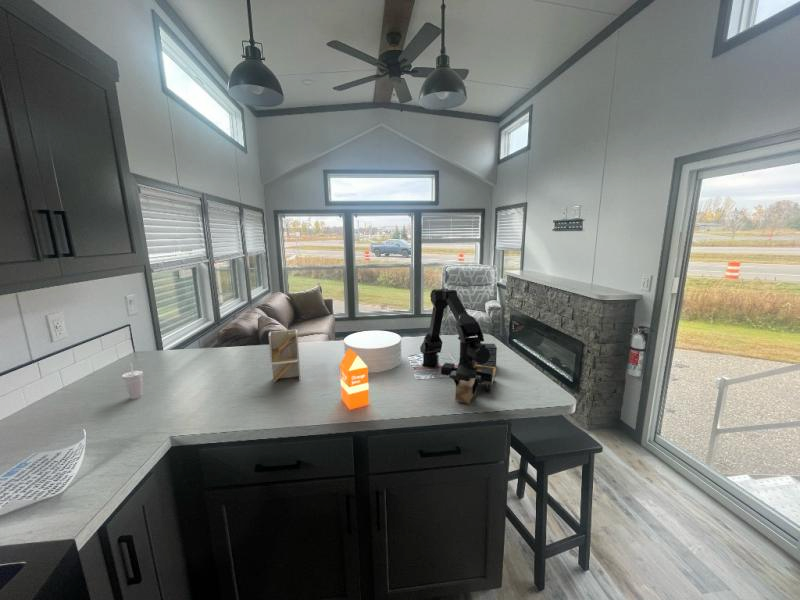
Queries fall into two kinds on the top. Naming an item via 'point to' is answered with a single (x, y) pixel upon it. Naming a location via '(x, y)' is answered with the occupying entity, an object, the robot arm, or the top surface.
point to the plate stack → (375, 349)
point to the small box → (492, 359)
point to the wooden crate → (284, 354)
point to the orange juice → (354, 380)
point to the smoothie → (133, 383)
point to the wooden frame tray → (489, 384)
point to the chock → (465, 391)
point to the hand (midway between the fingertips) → (466, 392)
